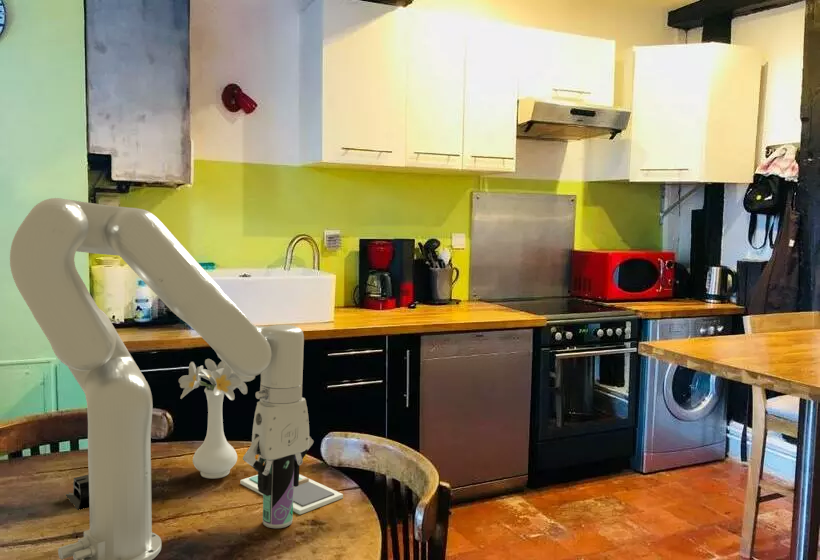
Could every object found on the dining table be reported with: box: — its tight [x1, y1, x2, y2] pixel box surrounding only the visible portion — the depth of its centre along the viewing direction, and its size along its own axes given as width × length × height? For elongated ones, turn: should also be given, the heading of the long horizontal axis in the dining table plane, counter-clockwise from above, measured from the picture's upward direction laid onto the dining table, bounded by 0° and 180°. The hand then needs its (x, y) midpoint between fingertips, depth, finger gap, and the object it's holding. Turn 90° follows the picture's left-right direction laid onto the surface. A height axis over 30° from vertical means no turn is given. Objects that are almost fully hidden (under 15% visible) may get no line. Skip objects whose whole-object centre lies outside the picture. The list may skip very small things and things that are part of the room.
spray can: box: [262, 438, 295, 529], centre depth 127 cm, size 6×6×20 cm
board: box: [240, 473, 344, 515], centre depth 142 cm, size 11×20×2 cm, turn 47°
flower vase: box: [178, 358, 256, 480], centre depth 149 cm, size 13×18×25 cm
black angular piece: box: [65, 474, 89, 511], centre depth 136 cm, size 12×7×5 cm, turn 43°
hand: (278, 487), depth 127 cm, fingers closed on spray can, 5 cm apart
